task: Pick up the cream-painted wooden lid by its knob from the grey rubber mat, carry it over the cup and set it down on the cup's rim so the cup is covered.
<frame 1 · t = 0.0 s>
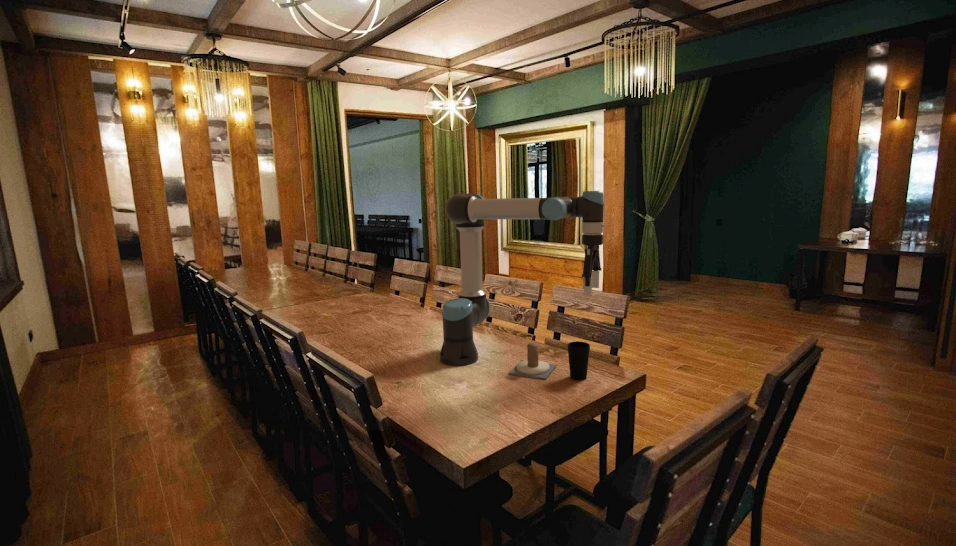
hand: (591, 291, 178), 28 cm above the table, fingers open, 13 cm apart
mat: (533, 370, 177), on the table
lid: (533, 368, 177), point 1 cm above the table, touching mat
cup: (578, 378, 169), on the table
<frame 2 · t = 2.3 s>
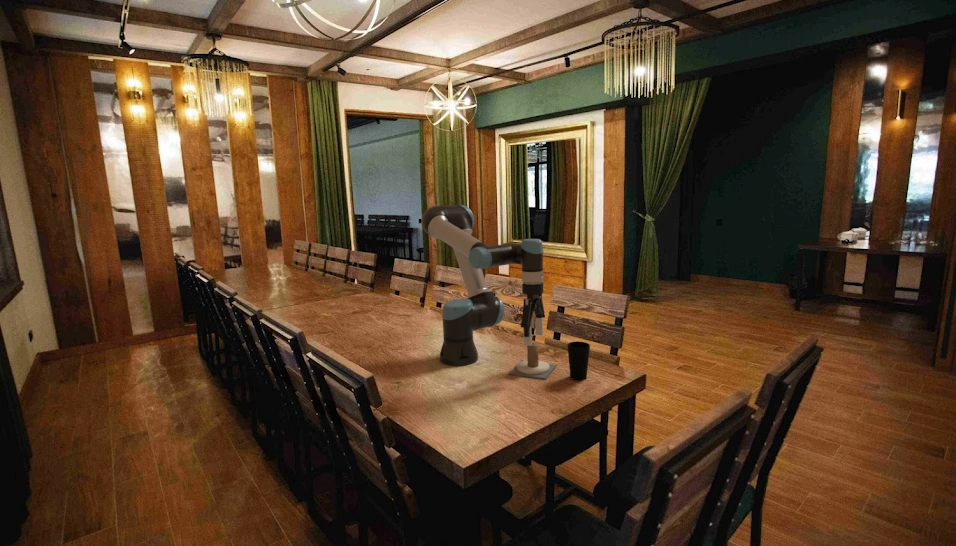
hand: (533, 340, 175), 12 cm above the table, fingers open, 13 cm apart
nothing on the table moved.
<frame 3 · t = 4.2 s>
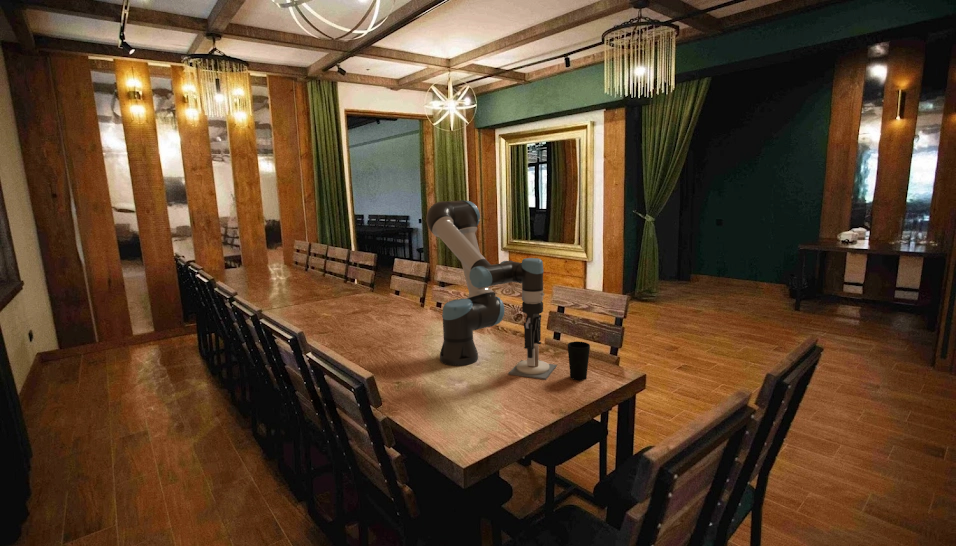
hand: (532, 363, 176), 3 cm above the table, fingers closed on lid, 4 cm apart
lid: (532, 368, 177), point 1 cm above the table, touching gripper
everything else where it was.
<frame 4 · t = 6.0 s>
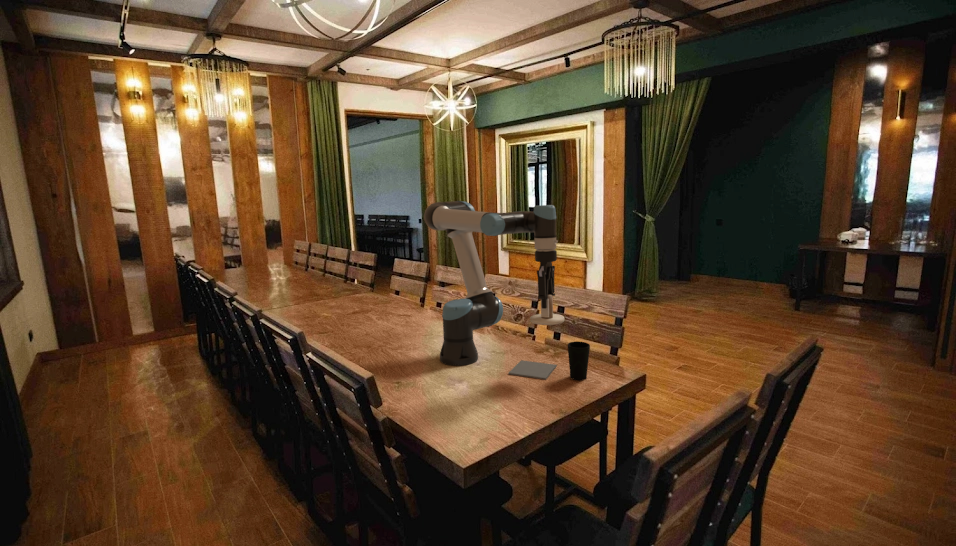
hand: (547, 315, 170), 21 cm above the table, fingers closed on lid, 4 cm apart
lid: (547, 320, 171), point 19 cm above the table, touching gripper
everything else where it was.
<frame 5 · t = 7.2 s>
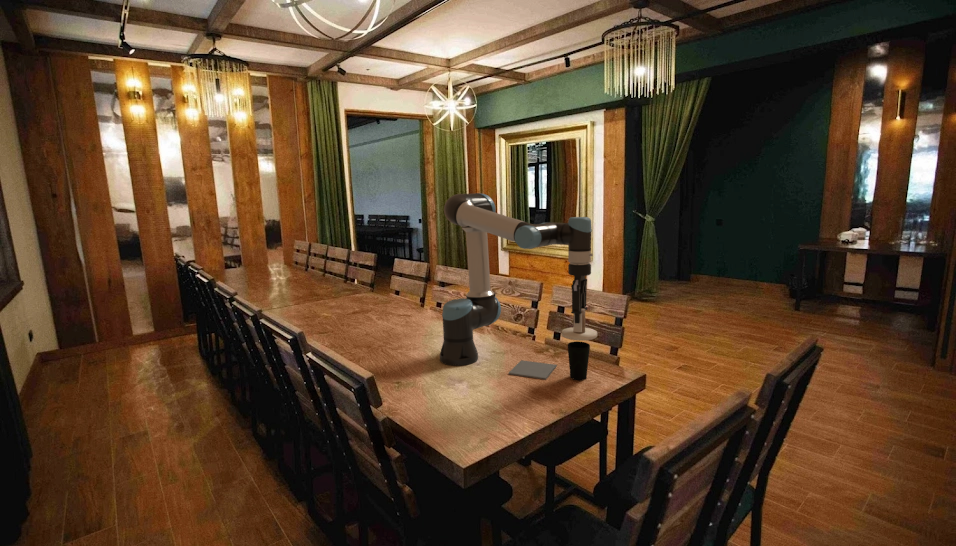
hand: (579, 329, 166), 17 cm above the table, fingers closed on lid, 4 cm apart
lid: (579, 335, 166), point 15 cm above the table, touching gripper
everything else where it was.
when the fingers open (16 cm above the table, at t = 8.1 s): lid drops 2 cm, resting on cup.
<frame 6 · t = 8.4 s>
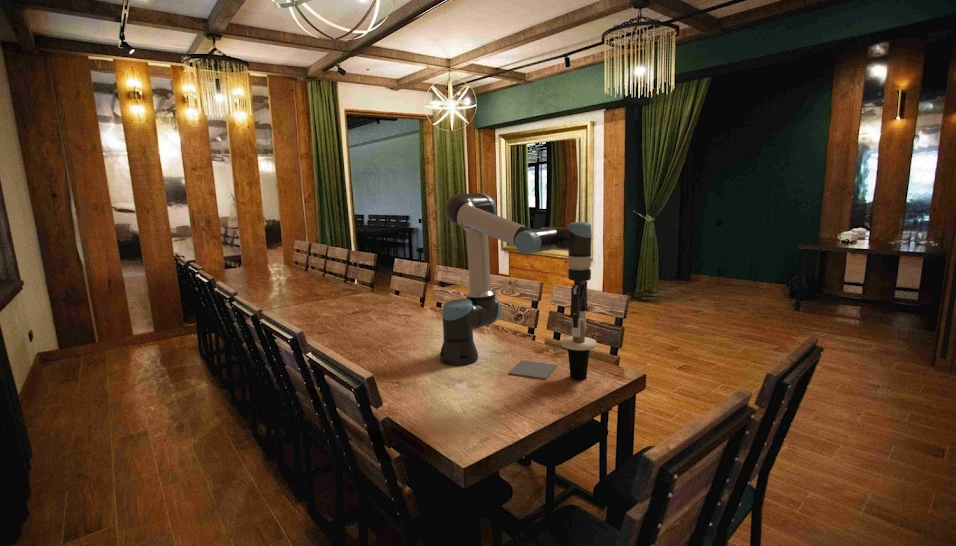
hand: (578, 332, 166), 16 cm above the table, fingers open, 8 cm apart
lid: (578, 344, 167), point 12 cm above the table, touching cup
cup: (578, 378, 169), on the table, touching lid
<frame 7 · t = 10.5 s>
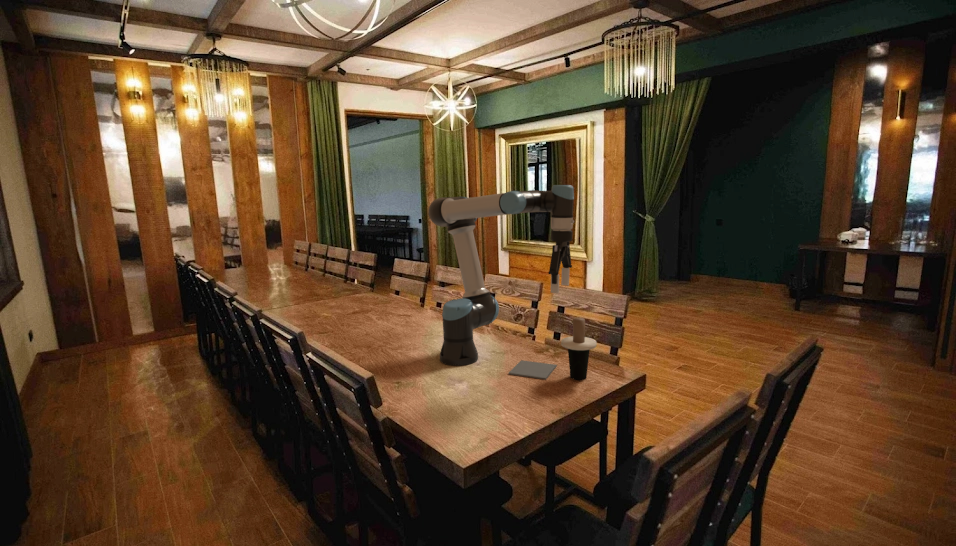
hand: (560, 289, 172), 30 cm above the table, fingers open, 13 cm apart
nothing on the table moved.
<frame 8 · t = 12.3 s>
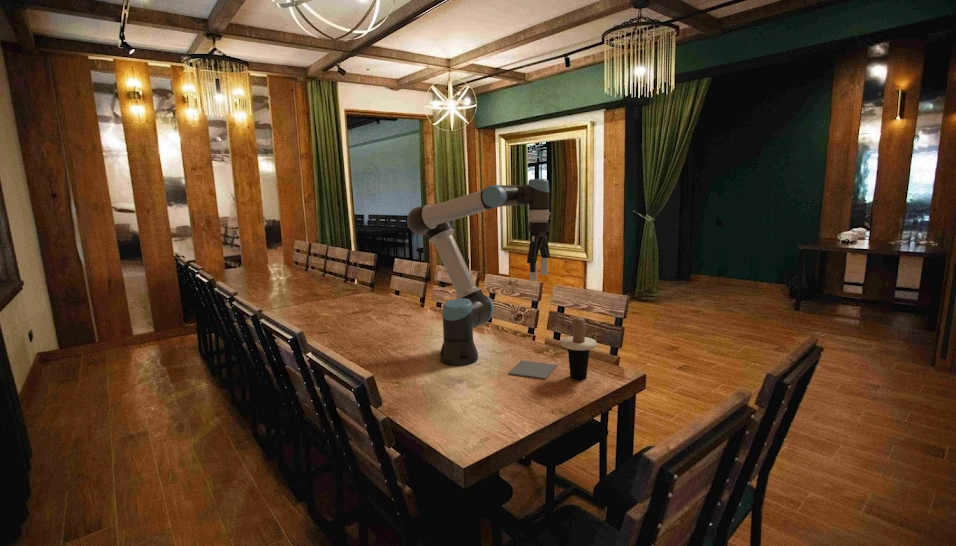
hand: (539, 277, 182), 33 cm above the table, fingers open, 13 cm apart
nothing on the table moved.
at the end: lid 0.0 cm from the cup (horizontally); lid point 12.0 cm above the table; cup tilted 0° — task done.
